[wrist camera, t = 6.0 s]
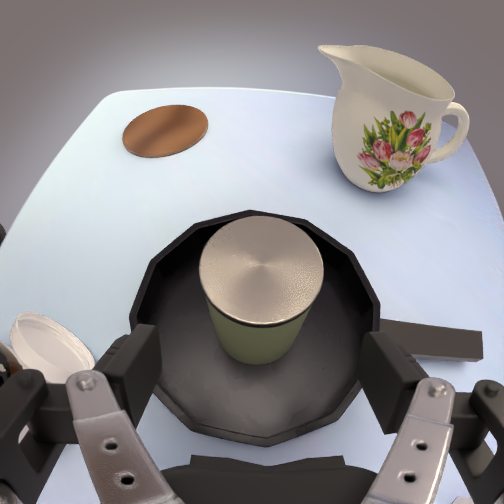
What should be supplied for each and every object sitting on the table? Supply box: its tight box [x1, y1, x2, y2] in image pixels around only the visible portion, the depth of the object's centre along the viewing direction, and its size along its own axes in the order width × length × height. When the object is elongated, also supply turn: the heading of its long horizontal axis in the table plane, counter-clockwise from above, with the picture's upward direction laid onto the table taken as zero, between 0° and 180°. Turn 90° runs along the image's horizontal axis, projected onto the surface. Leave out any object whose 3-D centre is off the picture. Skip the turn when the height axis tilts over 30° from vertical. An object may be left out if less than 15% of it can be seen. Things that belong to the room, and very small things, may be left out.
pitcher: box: [318, 45, 469, 193], centre depth 27 cm, size 11×18×14 cm, turn 88°
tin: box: [199, 216, 324, 365], centre depth 19 cm, size 6×6×9 cm
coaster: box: [122, 105, 208, 157], centre depth 36 cm, size 11×11×1 cm
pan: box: [129, 210, 483, 447], centre depth 21 cm, size 27×17×3 cm, turn 78°
